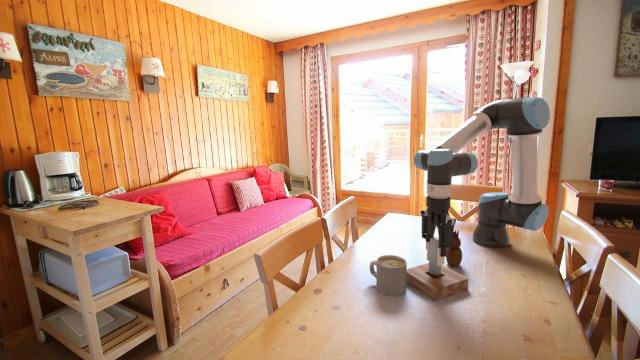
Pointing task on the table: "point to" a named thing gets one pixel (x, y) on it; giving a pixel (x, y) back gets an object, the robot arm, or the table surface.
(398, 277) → the coffee mug
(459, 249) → the wooden figurine
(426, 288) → the bore block
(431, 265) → the peg
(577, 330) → the table surface
